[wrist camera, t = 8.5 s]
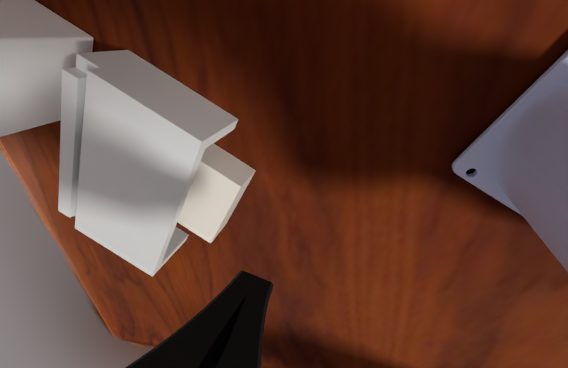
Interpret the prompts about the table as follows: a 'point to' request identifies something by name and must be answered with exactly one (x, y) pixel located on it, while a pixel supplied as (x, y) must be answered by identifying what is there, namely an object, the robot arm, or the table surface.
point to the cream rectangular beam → (214, 192)
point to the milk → (34, 63)
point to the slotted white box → (131, 153)
